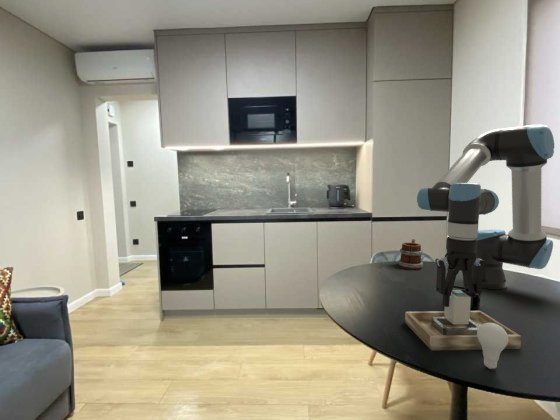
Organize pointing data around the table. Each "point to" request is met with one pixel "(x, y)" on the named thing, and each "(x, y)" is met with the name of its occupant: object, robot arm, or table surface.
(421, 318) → the birch box
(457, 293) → the white block teal patch
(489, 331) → the lightbulb
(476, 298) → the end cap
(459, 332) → the grey rectangular frame
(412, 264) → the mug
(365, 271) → the table surface
